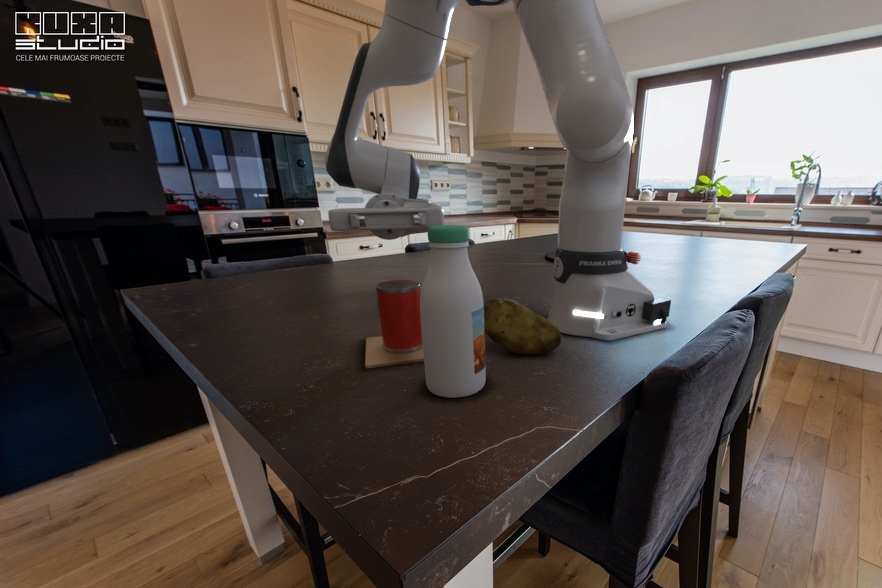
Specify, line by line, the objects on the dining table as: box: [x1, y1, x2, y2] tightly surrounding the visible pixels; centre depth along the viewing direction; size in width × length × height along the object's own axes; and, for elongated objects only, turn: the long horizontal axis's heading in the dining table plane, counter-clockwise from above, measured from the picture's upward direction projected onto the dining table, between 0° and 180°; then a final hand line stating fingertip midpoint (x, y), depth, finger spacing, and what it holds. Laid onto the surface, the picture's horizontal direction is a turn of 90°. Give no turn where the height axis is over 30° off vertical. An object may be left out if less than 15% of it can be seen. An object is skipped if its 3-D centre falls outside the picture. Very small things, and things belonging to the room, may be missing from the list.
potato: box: [483, 297, 562, 356], centre depth 62 cm, size 8×13×8 cm, turn 54°
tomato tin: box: [375, 279, 423, 353], centre depth 61 cm, size 6×6×10 cm
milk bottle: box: [420, 224, 487, 399], centre depth 48 cm, size 8×8×20 cm
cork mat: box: [364, 335, 424, 370], centre depth 63 cm, size 12×12×1 cm
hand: (390, 220), depth 67 cm, fingers open, 8 cm apart
